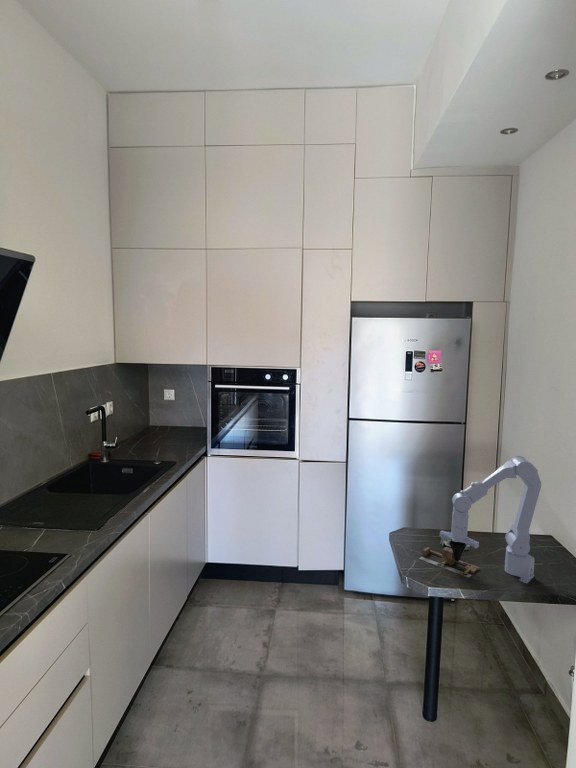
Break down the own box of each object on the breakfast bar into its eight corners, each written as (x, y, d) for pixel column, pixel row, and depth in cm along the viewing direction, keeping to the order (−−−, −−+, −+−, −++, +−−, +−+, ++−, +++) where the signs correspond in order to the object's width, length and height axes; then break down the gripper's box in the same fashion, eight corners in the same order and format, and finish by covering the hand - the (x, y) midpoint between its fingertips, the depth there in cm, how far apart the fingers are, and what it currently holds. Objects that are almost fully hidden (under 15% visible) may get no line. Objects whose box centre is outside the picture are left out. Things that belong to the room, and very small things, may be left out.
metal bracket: (446, 542, 194) (438, 527, 209) (441, 555, 195) (433, 539, 209) (481, 554, 193) (470, 538, 208) (476, 567, 194) (465, 551, 209)
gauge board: (482, 573, 180) (482, 564, 179) (470, 582, 173) (471, 573, 172) (428, 554, 195) (428, 545, 195) (415, 561, 188) (415, 552, 188)
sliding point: (455, 562, 185) (456, 550, 185) (447, 568, 180) (448, 555, 180) (445, 559, 188) (446, 546, 187) (437, 564, 183) (438, 551, 183)
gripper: (436, 522, 183) (434, 557, 185) (474, 534, 173) (471, 570, 175) (445, 518, 189) (443, 551, 190) (482, 529, 179) (479, 564, 180)
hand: (457, 560), depth 183 cm, fingers closed
